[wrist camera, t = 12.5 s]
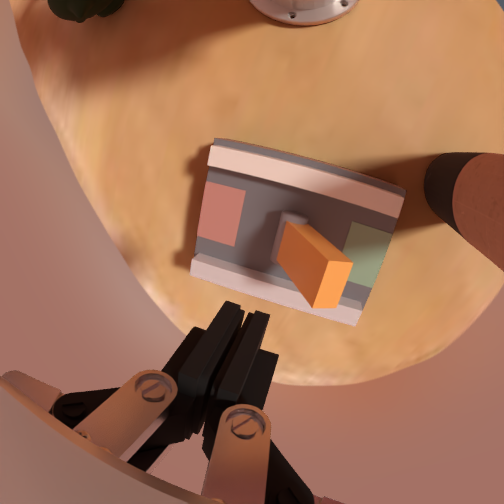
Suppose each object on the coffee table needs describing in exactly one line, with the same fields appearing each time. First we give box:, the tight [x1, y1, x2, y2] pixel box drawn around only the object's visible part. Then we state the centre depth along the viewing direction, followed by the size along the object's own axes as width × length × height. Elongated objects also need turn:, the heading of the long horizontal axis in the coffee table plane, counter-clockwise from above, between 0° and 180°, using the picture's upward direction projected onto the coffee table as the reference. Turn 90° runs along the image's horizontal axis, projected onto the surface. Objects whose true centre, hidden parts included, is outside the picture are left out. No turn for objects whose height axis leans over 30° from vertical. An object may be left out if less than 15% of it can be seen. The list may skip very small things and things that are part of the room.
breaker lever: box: [270, 210, 353, 308], centre depth 24 cm, size 4×2×9 cm
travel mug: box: [424, 152, 504, 271], centre depth 16 cm, size 8×8×20 cm
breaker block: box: [190, 138, 407, 326], centre depth 29 cm, size 14×18×5 cm
